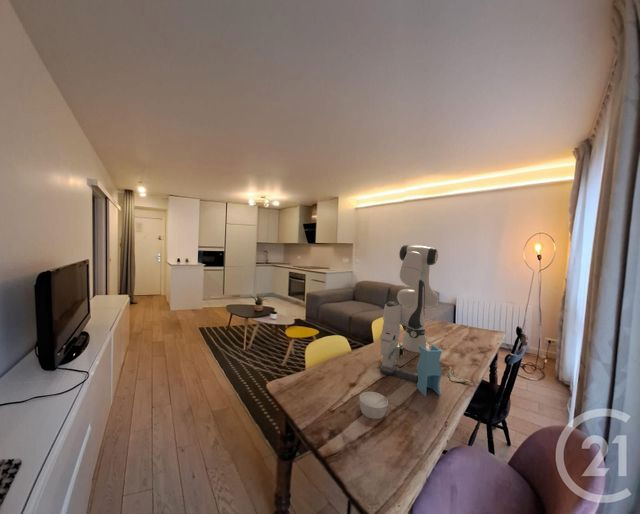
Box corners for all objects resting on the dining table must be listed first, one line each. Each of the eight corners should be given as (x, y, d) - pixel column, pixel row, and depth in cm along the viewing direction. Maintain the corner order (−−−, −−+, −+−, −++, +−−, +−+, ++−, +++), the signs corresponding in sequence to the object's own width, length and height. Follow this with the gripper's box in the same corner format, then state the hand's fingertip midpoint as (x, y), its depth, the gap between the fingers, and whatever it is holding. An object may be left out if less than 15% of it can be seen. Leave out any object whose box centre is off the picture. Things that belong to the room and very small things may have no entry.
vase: (430, 385, 128) (433, 344, 128) (440, 394, 120) (443, 351, 120) (415, 386, 127) (417, 344, 126) (424, 395, 119) (427, 351, 118)
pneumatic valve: (402, 366, 148) (403, 345, 147) (380, 364, 150) (382, 342, 150) (401, 362, 153) (402, 342, 153) (380, 360, 156) (381, 339, 155)
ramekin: (388, 423, 99) (389, 409, 99) (358, 418, 101) (358, 405, 100) (386, 406, 110) (387, 393, 110) (358, 402, 112) (359, 389, 111)
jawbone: (454, 386, 131) (454, 382, 131) (434, 368, 151) (434, 364, 151) (472, 385, 131) (472, 381, 131) (450, 367, 151) (450, 364, 151)
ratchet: (383, 367, 146) (384, 353, 146) (431, 380, 133) (432, 366, 133) (378, 372, 139) (379, 358, 139) (428, 387, 126) (429, 372, 126)
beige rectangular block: (385, 362, 144) (386, 349, 144) (395, 365, 141) (396, 351, 141) (382, 366, 139) (383, 352, 139) (392, 368, 137) (393, 355, 136)
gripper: (390, 327, 150) (389, 351, 151) (378, 336, 133) (377, 364, 133) (402, 329, 147) (400, 354, 147) (391, 339, 129) (389, 367, 130)
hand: (389, 358), depth 140 cm, fingers open, 8 cm apart
